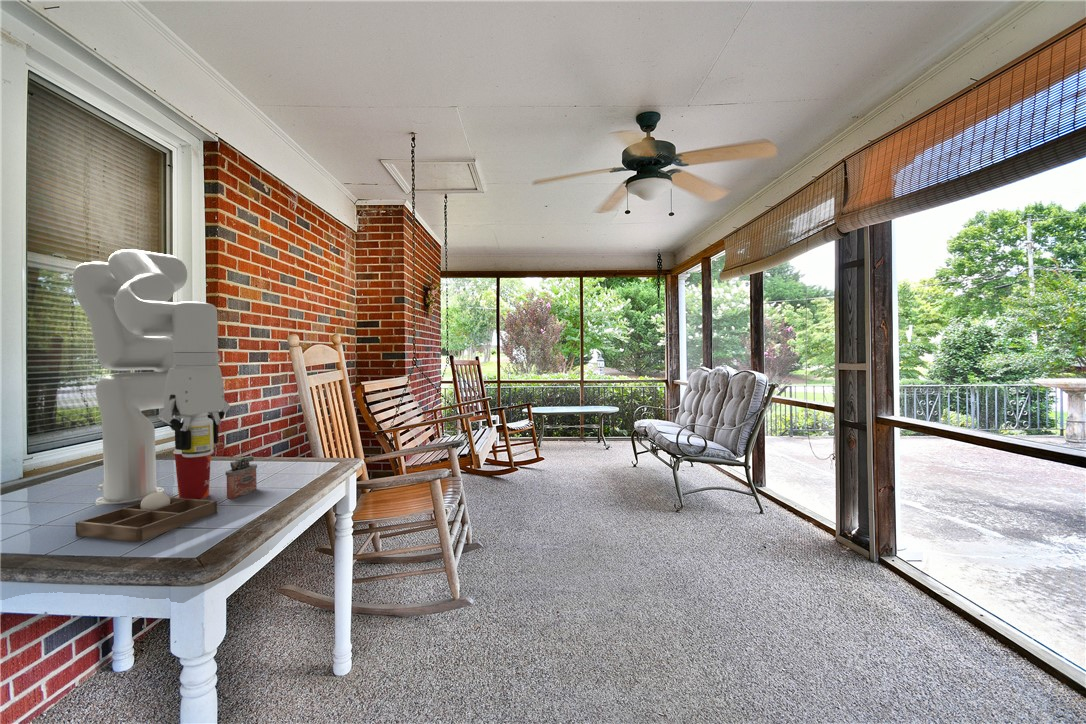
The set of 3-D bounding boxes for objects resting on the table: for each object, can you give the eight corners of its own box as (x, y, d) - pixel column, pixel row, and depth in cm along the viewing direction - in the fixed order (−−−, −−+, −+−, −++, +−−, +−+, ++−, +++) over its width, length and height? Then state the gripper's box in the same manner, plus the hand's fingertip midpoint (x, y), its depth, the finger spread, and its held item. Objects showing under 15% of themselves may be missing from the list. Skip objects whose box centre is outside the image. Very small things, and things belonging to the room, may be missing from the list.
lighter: (233, 503, 108) (233, 462, 107) (222, 502, 108) (221, 461, 108) (261, 492, 116) (260, 454, 115) (250, 491, 116) (249, 454, 116)
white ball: (134, 518, 95) (133, 495, 95) (159, 509, 100) (158, 488, 100) (152, 519, 94) (152, 496, 94) (176, 511, 99) (176, 489, 99)
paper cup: (220, 498, 111) (219, 443, 110) (185, 508, 104) (183, 449, 104) (202, 494, 114) (201, 440, 114) (166, 504, 107) (165, 446, 107)
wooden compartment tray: (76, 539, 87) (75, 522, 87) (160, 511, 102) (160, 496, 102) (139, 547, 83) (138, 529, 83) (217, 516, 99) (216, 501, 99)
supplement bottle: (192, 452, 96) (191, 407, 96) (219, 451, 97) (218, 407, 97) (174, 458, 91) (174, 410, 91) (203, 457, 92) (202, 410, 91)
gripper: (217, 359, 102) (218, 437, 103) (137, 362, 85) (139, 454, 86) (245, 360, 101) (246, 438, 102) (169, 362, 84) (171, 457, 85)
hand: (197, 445), depth 94 cm, fingers closed on supplement bottle, 5 cm apart
